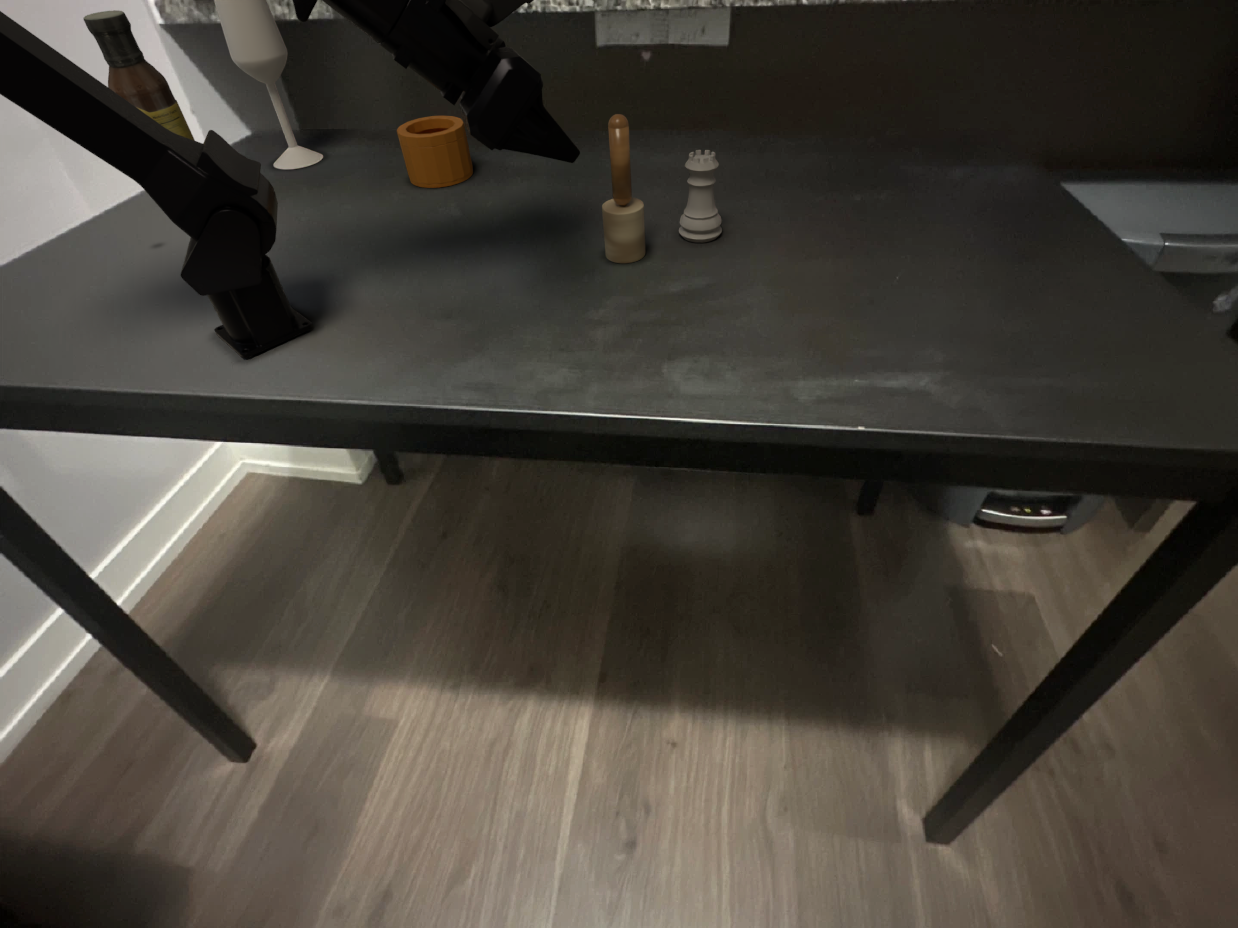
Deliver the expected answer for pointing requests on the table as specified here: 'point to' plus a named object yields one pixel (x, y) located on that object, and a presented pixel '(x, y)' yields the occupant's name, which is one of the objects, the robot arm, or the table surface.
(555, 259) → the table surface
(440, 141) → the orange cylindrical pot
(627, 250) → the brush
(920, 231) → the table surface
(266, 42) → the champagne flute
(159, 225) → the table surface
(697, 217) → the rook chess piece
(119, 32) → the sauce bottle
